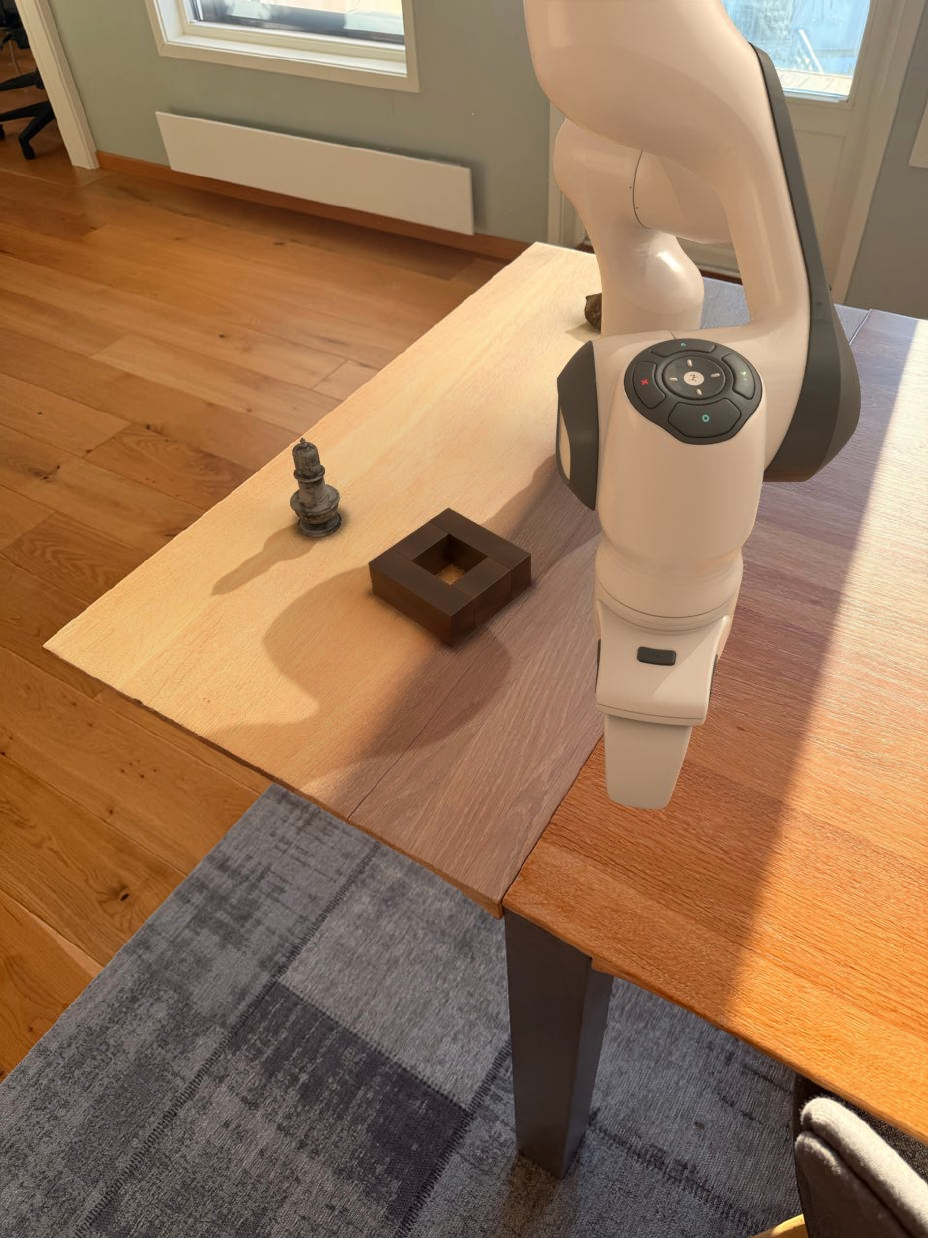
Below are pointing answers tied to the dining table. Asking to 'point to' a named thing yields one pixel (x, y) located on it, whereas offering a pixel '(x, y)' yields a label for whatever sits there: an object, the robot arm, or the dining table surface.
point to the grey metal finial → (313, 494)
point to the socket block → (471, 598)
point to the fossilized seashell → (594, 310)
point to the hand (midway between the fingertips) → (644, 731)
